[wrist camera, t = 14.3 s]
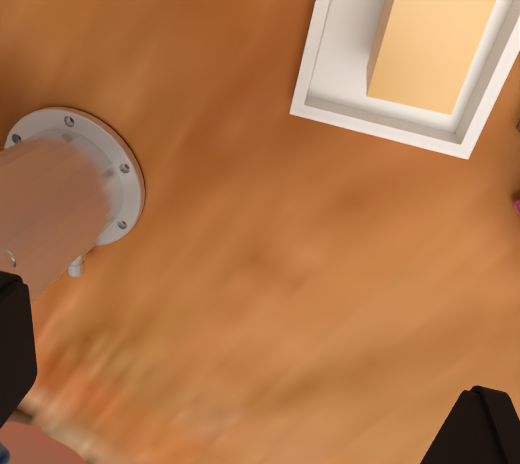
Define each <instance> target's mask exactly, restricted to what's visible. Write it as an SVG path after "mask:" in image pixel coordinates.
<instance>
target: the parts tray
mask: <svg viewBox="0 0 520 464" xmlns="http://www.w3.org/2000/svg"><path fill="white" fill-rule="evenodd" d="M384 2H385V0H316V2H315V6H314V10H313V15H312V19H311V23H310V27H309V32H308V36H307V40H306V45H305V49H304V53H303V57H302V62H301V66H300V70H299V75H298V79H297V83H296V88H295V92H294V96H293V100H292V105H291V109H290V113H289V114H292V115H296V116H300V117H304V118H308V119H311V120H315V121H319V122H323V123H327V124H331V125H335V126H339V127H343V128H347V129H350V130H354V131H358V132H362V133H366V134H370V135H374V136H378V137H382V138H386V139H389V140H393V141H397V142H401V143H405V144H409V145H413V146H417V147H421V148H425V149H429V150H432V151H436V152H440V153H444V154H448V155H452V156H456V157H460V158H464V159H469V156H470V154H471V152H472V150H473V148H474V146H475V144H476V142H477V139H478V137H479V135H480V133H481V131H482V129H483V127H484V125H485V122H486V120H487V118H488V116H489V114H490V112H491V110H492V108H493V105H494V103H495V101H496V99H497V97H498V95H499V93H500V91H501V88H502V86H503V84H504V82H505V80H506V78H507V76H508V74H509V72H510V69H511V67H512V65H513V63H514V61H515V59H516V57H517V55H518V52H519V50H520V0H496V2H495V5H494V8H493V10H492V13H491V15H490V18H489V20H488V23H487V25H486V28H485V30H484V33H483V35H482V38H481V40H480V43H479V46H478V48H477V51H476V53H475V56H474V58H473V61H472V63H471V66H470V68H469V71H468V73H467V76H466V79H465V81H464V84H463V86H462V89H461V91H460V94H459V96H458V99H457V101H456V104H455V106H454V109H453V111H452V114H451V115H449V114H444V113H440V112H435V111H431V110H426V109H422V108H417V107H412V106H408V105H403V104H399V103H394V102H390V101H385V100H381V99H376V98H372V97H367V96H366V67H367V63H368V60H369V56H370V52H371V49H372V45H373V42H374V38H375V34H376V31H377V27H378V24H379V20H380V17H381V13H382V9H383V6H384Z"/></svg>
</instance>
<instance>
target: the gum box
mask: <svg viewBox="0 0 520 464" xmlns="http://www.w3.org/2000/svg"><path fill="white" fill-rule="evenodd" d="M513 206H514V208H515V209H516V211H517V213H518V214H519V216H520V200H518V201H516V202H514V203H513Z"/></svg>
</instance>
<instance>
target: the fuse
mask: <svg viewBox="0 0 520 464" xmlns="http://www.w3.org/2000/svg"><path fill="white" fill-rule="evenodd" d="M495 2H496V0H385V2H384V6H383V9H382V13H381V17H380V20H379V24H378V27H377V31H376V34H375V38H374V42H373V45H372V49H371V52H370V56H369V60H368V63H367V67H366V96H367V97H372V98H376V99H381V100H385V101H390V102H394V103H399V104H403V105H408V106H412V107H417V108H422V109H426V110H431V111H435V112H440V113H444V114H449V115H451V114H452V111H453V109H454V106H455V104H456V101H457V99H458V96H459V94H460V91H461V89H462V86H463V84H464V81H465V79H466V76H467V73H468V71H469V68H470V66H471V63H472V61H473V58H474V56H475V53H476V51H477V48H478V46H479V43H480V40H481V38H482V35H483V33H484V30H485V28H486V25H487V23H488V20H489V18H490V15H491V13H492V10H493V8H494V5H495Z"/></svg>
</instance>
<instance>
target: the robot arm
mask: <svg viewBox="0 0 520 464" xmlns="http://www.w3.org/2000/svg"><path fill="white" fill-rule="evenodd" d="M144 201H145V187H144V180H143V176H142V173H141V170H140V167H139V164H138V163H137V161H136V159H135V157H134V155H133V153H132V151H131V150H130V149H129V147H128V146H127V145H126V143H125V142H124V140H123V139H122V138H121V137H120V136H119V135H118V134H117V133H116V132H115V131H114V130H113V129H112V128H110V127H109V126H108V125H106V124H105V123H103V122H102V121H101V120H99V119H97V118H95V117H94V116H92V115H90V114H88V113H86V112H83V111H79V110H76V109H73V108H67V107H48V108H43V109H40V110H37V111H34V112H32V113H30V114H28V115H26V116H24V117H22V118H21V119H20V120H19V121H18V122H17V123H16V124H15V125H14V126H13V127H12V129H11V130H10V132H9V134H8V136H7V139H6V142H5V145H4V150H2V151H0V428H1V427H2V426H3V424H4V423H5V422H6V421H7V419H8V418H9V417H10V415H11V414H12V413H13V411H14V410H15V409H16V407H17V406H18V405H19V403H20V402H21V401H22V399H23V398H24V397H25V395H26V394H27V393H28V391H29V390H30V389H31V387H32V386H33V384H34V382H35V379H36V376H37V362H36V353H35V343H34V333H33V323H32V314H31V304H32V303H33V302H34V301H35V300H36V299H37V298H38V297H39V296H40V295H41V294H42V293H43V292H44V291H45V290H46V289H47V288H48V287H49V286H50V285H51V284H52V283H53V282H54V281H57V280H58V279H60V278H61V276H62V273H63V272H64V271H65V270H66V269H67V268H68V275H69V276H71V277H79V276H81V275H83V273H84V261H83V257H84V256H85V255H86V254H87V253H88V252H89V251H90V250H91V249H92V248H93V247H94V246H100V245H105V244H110V243H112V242H115V241H117V240H119V239H121V238H122V237H123V236H124V235H126V234H127V233H128V232H129V231H130V230H131V229H132V228H133V227H134V225H135V224H136V223H137V221H138V219H139V218H140V216H141V213H142V210H143V207H144ZM420 464H520V421H519V418H518V416H517V413H516V411H515V408H514V406H513V403H512V401H511V399H510V397H509V395H508V394H507V393H505V392H502V391H498V390H494V389H490V388H486V387H482V386H474V387H472V389H471V390H470V391H467V390H464V391H463V392H462V393H461V394H460V396H459V398H458V400H457V401H456V403H455V405H454V406H453V408H452V410H451V412H450V413H449V415H448V417H447V418H446V420H445V422H444V424H443V425H442V427H441V429H440V430H439V432H438V434H437V436H436V437H435V439H434V441H433V442H432V444H431V446H430V448H429V449H428V451H427V453H426V454H425V456H424V458H423V459H422V461H421V463H420Z"/></svg>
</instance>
